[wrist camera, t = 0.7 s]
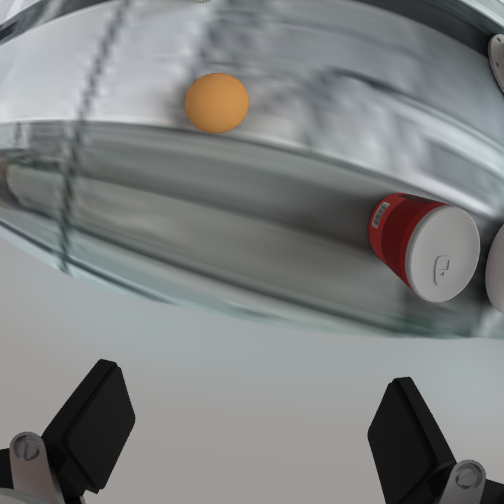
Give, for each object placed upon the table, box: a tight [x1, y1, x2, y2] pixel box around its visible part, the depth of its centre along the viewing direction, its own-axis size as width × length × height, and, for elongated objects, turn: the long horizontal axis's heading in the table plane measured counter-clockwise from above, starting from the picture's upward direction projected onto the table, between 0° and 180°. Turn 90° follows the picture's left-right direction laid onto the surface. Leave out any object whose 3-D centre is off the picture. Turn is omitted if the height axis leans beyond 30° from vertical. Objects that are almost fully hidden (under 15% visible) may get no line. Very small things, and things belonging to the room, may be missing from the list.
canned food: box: [368, 193, 480, 303], centre depth 24 cm, size 8×8×11 cm
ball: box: [185, 73, 249, 133], centre depth 24 cm, size 6×6×6 cm
